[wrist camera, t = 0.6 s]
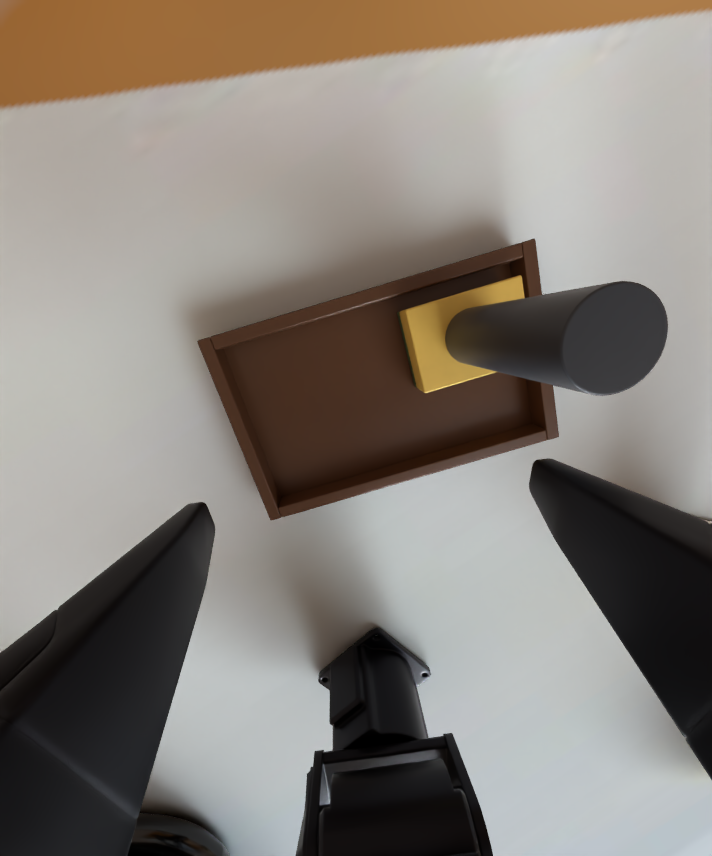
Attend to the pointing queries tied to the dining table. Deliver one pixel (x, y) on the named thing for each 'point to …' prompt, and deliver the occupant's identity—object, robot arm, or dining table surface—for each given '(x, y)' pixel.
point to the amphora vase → (172, 838)
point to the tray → (368, 392)
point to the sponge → (537, 336)
